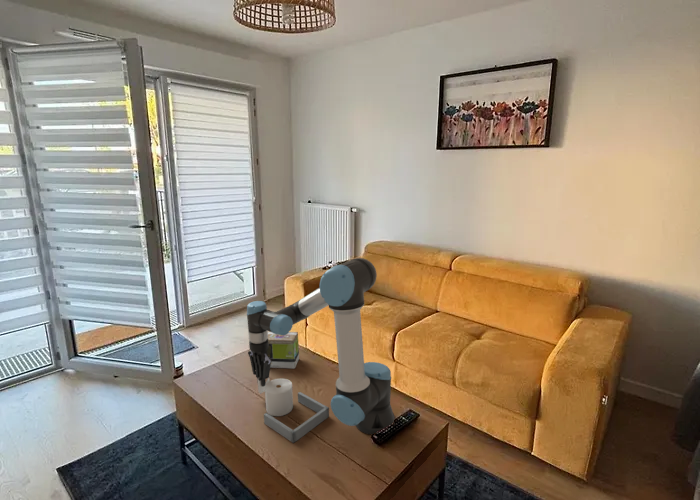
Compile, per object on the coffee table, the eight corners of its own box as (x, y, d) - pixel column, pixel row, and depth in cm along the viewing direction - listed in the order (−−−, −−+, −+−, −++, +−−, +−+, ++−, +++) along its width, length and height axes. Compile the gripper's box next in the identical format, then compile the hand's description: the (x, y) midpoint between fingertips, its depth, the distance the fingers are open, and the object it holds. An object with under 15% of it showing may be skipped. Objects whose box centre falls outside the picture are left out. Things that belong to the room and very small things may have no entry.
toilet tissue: (285, 419, 149) (284, 396, 146) (258, 413, 152) (256, 390, 150) (297, 402, 158) (296, 380, 156) (271, 397, 162) (270, 375, 160)
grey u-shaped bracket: (329, 416, 150) (328, 407, 149) (293, 443, 136) (292, 433, 135) (300, 400, 160) (299, 391, 159) (264, 423, 146) (263, 414, 145)
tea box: (299, 358, 193) (298, 331, 189) (294, 369, 183) (293, 340, 180) (270, 357, 194) (268, 330, 191) (263, 368, 185) (262, 339, 181)
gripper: (276, 340, 153) (279, 393, 159) (256, 331, 161) (259, 381, 167) (261, 348, 148) (264, 402, 153) (241, 338, 156) (245, 389, 161)
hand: (262, 391), depth 160 cm, fingers closed
